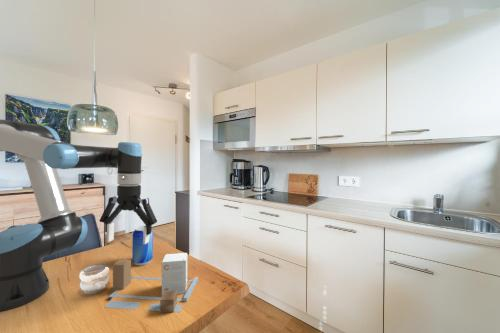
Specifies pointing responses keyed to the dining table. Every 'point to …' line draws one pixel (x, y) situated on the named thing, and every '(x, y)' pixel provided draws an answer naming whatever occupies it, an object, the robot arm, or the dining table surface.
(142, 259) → the beer can
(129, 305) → the broken strip
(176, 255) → the small box
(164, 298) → the walnut cube
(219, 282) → the dining table surface
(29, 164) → the robot arm
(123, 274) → the frame
